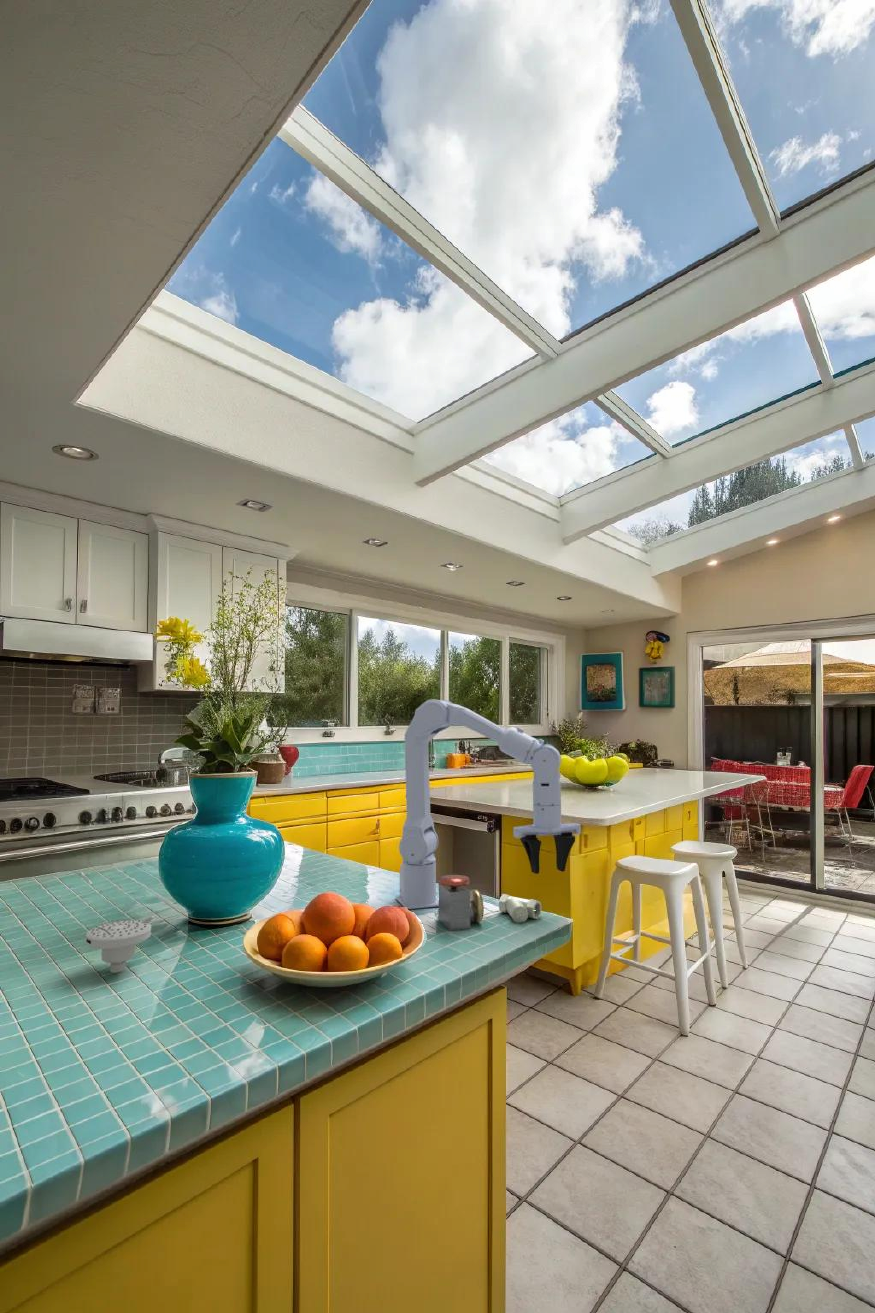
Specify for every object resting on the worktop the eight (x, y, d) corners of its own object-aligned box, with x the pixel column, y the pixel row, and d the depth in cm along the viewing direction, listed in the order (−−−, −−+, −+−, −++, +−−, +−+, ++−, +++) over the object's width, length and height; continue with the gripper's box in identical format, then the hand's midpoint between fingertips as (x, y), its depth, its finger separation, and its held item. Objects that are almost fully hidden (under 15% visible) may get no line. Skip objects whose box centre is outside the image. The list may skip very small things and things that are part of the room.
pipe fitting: (525, 928, 127) (542, 917, 133) (524, 908, 127) (540, 897, 133) (490, 920, 132) (507, 910, 137) (489, 901, 132) (506, 891, 138)
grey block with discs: (433, 920, 130) (433, 875, 131) (471, 916, 133) (471, 872, 134) (445, 931, 124) (445, 884, 125) (484, 926, 126) (484, 880, 127)
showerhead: (165, 922, 107) (100, 937, 100) (163, 968, 106) (98, 987, 99) (140, 910, 113) (77, 924, 106) (138, 954, 113) (75, 971, 105)
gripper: (523, 808, 130) (524, 879, 129) (588, 805, 135) (589, 873, 134) (508, 803, 137) (509, 870, 136) (570, 800, 141) (572, 865, 140)
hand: (548, 871), depth 135 cm, fingers open, 5 cm apart
